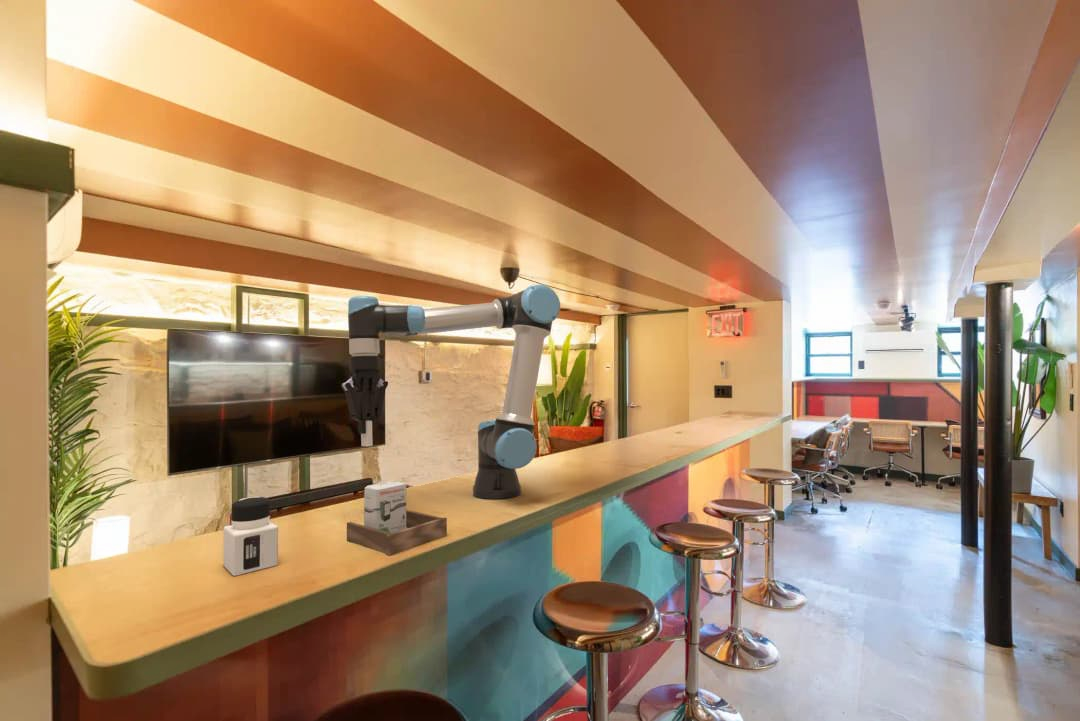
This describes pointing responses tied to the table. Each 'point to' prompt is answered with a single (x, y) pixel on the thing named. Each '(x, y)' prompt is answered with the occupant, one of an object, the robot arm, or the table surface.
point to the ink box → (385, 506)
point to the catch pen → (399, 533)
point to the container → (250, 537)
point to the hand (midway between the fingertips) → (367, 445)
